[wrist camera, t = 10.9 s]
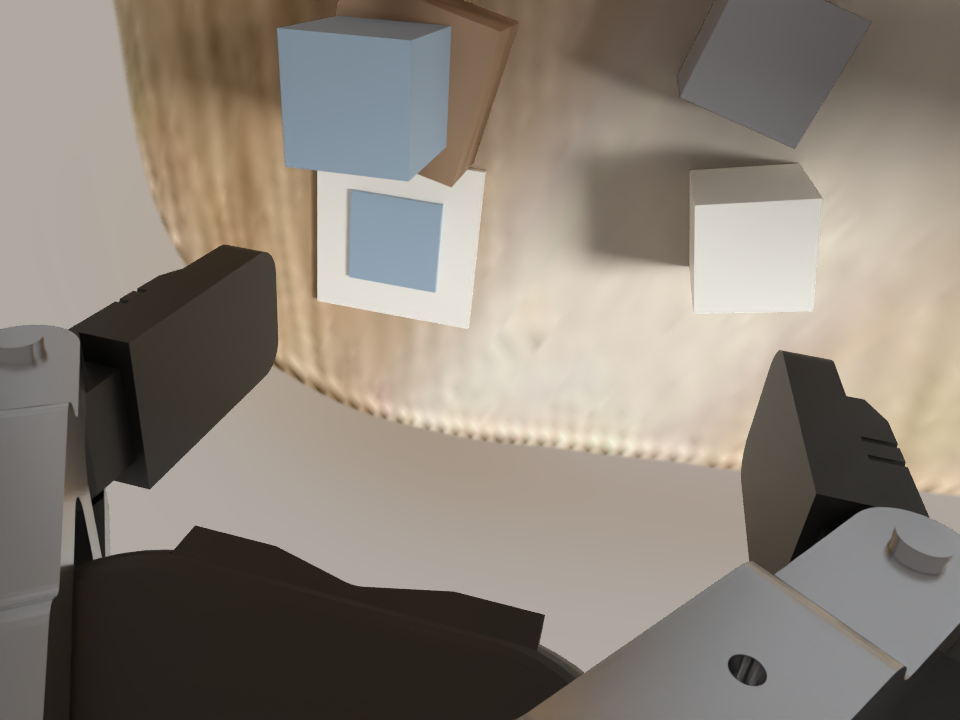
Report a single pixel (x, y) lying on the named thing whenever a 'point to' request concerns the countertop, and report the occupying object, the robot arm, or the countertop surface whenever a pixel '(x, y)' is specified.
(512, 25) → the walnut base
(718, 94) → the grey block
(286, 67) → the slate block
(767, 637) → the robot arm
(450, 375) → the countertop surface
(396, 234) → the card
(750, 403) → the countertop surface
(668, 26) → the countertop surface
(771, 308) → the white block
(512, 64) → the countertop surface
